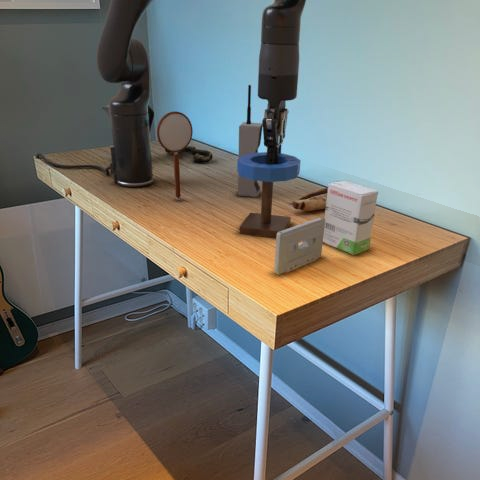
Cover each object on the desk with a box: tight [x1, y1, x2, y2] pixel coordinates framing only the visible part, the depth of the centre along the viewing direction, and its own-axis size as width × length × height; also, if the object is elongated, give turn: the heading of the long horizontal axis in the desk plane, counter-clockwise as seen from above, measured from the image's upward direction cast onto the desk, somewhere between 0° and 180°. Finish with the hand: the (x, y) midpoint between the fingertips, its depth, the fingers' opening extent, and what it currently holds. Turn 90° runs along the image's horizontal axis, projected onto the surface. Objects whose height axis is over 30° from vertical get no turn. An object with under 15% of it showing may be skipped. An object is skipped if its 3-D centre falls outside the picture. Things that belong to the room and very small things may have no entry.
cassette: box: [273, 216, 325, 276], centre depth 87 cm, size 12×2×8 cm, turn 133°
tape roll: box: [236, 151, 302, 183], centre depth 97 cm, size 12×12×3 cm
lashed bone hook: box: [292, 187, 328, 212], centre depth 116 cm, size 9×5×18 cm
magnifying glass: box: [156, 110, 194, 202], centre depth 113 cm, size 9×2×20 cm, turn 121°
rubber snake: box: [164, 145, 214, 164], centre depth 152 cm, size 18×5×10 cm
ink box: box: [323, 180, 379, 256], centre depth 94 cm, size 9×5×12 cm, turn 39°
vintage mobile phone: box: [237, 84, 263, 198], centre depth 117 cm, size 4×5×25 cm
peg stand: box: [238, 181, 292, 239], centre depth 101 cm, size 9×9×12 cm
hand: (273, 164), depth 102 cm, fingers closed on tape roll, 2 cm apart
